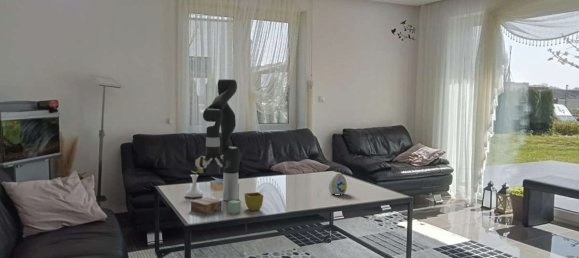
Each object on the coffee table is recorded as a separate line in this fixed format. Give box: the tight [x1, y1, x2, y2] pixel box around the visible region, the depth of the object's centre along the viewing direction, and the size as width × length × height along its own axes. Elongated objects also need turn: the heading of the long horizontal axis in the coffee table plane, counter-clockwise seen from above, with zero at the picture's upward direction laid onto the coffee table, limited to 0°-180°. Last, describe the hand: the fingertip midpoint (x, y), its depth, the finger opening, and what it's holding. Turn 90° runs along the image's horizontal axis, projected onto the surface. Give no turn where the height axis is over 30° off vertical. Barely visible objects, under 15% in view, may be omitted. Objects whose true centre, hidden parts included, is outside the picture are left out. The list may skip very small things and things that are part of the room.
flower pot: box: [244, 191, 264, 212], centre depth 252 cm, size 9×9×9 cm
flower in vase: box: [184, 157, 206, 198], centre depth 277 cm, size 13×11×25 cm
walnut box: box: [190, 196, 222, 216], centre depth 246 cm, size 12×12×6 cm
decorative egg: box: [328, 172, 348, 195], centre depth 296 cm, size 12×12×15 cm
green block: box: [227, 200, 241, 214], centre depth 246 cm, size 5×5×6 cm
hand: (212, 174), depth 242 cm, fingers open, 8 cm apart
